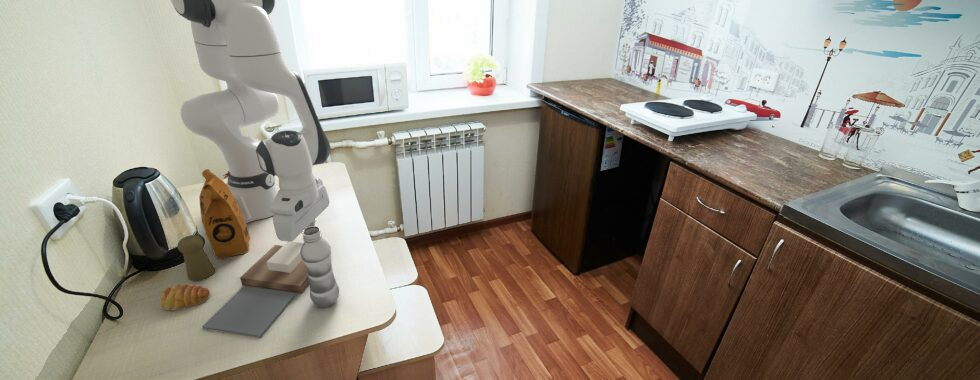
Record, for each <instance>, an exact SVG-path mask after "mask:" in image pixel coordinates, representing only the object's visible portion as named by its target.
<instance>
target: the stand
mask: <svg viewBox="0 0 980 380" xmlns="http://www.w3.org/2000/svg"><path fill="white" fill-rule="evenodd" d="M282 246H283V245H280V244H274V245H273V246H272V247H271V248H269V250H267V252H265V254H263V255H262V257H260V258H259V259H258V260H257V261H256V262H255V263H254V264H253V265H252V266H251V267H250V268H249V269H248V270H246V271H245V272H244V273H243V274H242V275H241V276H240V277H239V279H240V282H241V285H242V287H243V286H251V287H258V288H265V289H272V290H280V291H287V292H294V293H297V294H300V295H302V294H304V292H305V291H306V290H307V288H308V287H310V284H309V277H308V273H307V270H306V267H305V265H304V263H303V260H302V261H301V262H300V263H299V264H298V265H297V266H296V267H295V269H294V270H293V271H292V272H291V273H288V272H281V271H273V270H269V269H268V266H267V261H268V260H269V259H270V258H271V257H272V256H273V255H274V254H275V253H276V252H277V251H278V250H279V249H280V248H281V247H282Z"/></svg>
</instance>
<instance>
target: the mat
mask: <svg viewBox="0 0 980 380" xmlns="http://www.w3.org/2000/svg"><path fill="white" fill-rule="evenodd" d="M297 295H298V293H294V292H287V291H280V290H272V289H265V288H258V287H251V286H242V287H241V288H240V289H238V291H237V292H236V293H235V294H234V295H233V296H232V297H230V299H228V300H227V301H226V302H225V303H224V304H223V306H222V307H221V306H220V308H219V309H218V310H217V311H216V312H215V313H214V314H213V315H212V316H211V317H210V318H209V319H208V320H207V321H206V322H205V323H204V324H203V325H202V326H201V329H204V330H210V331H216V332H223V333H228V334H235V335H240V336H241V335H242V336H249V337H254V338H260V339H261V338H262V337H263V336H264V335H265V334H266V332H267V331H268V330H269V329H270V328H271V327H272V325H273V324H274V323H275V321H277V319H278V318H279V317H280V316H281V314H282V313H283V312H284V311H285V310H286V308H287V307H288V306H289V305H290V304H291V303H292V301H293V300H294V299H295V298H296V297H297Z"/></svg>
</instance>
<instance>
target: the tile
mask: <svg viewBox="0 0 980 380" xmlns="http://www.w3.org/2000/svg"><path fill="white" fill-rule="evenodd" d="M303 243H304V242H294V241H292V242H288V241H286V243H284V244H283V245H281V246H282V247H281V248H280V249H279V250H278V251H277V252H276V253H275V254H274V255H273V256H272V257H271V258H270V259H269V260H268V261H267V266H268V269H269V270H273V271H281V272H288V273H291V272H292V271H293V270H294V269H295V267H296V266H297V265H298V264H299V263H300V262H301V261H302V258H301V255H300V251H301V247H302V245H303Z"/></svg>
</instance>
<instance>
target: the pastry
mask: <svg viewBox="0 0 980 380" xmlns="http://www.w3.org/2000/svg"><path fill="white" fill-rule="evenodd" d="M210 292H211V291H210V289H209V288H207V287H204V286H203V285H196V284H186V283H185V284H183V285H182V284H177V285H174V286H173V287H171V286H169V287H167V288H165V289H164V290H163V291H162V292H161V295H160V301H159V305H160V308H161V309H163V310H166V311H171V312H172V311H180V310H184V309H188V308H192V307H195V306H198V305H200V304H202V303H206V301H207V300H208V299H209V297H210V294H211V293H210Z"/></svg>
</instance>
